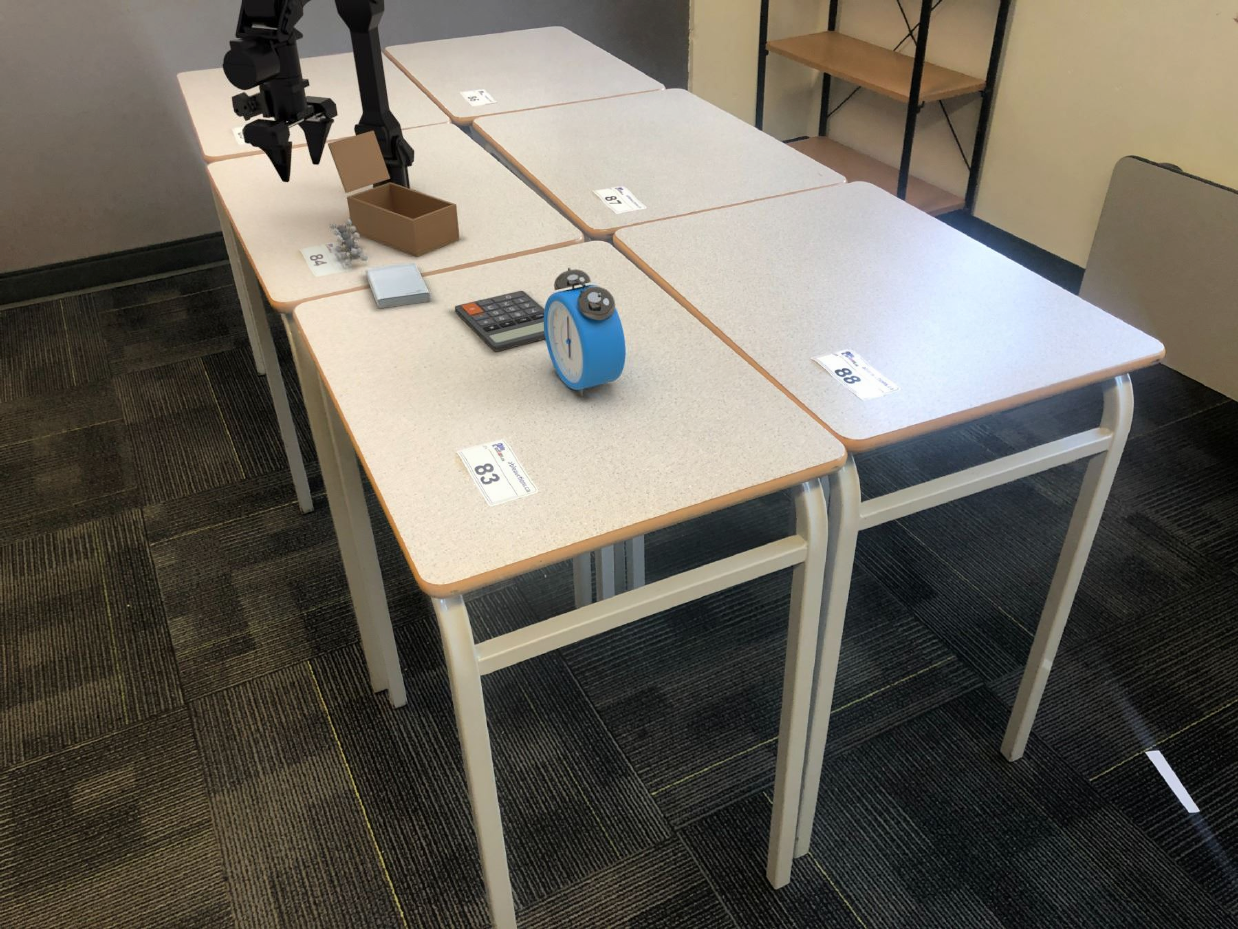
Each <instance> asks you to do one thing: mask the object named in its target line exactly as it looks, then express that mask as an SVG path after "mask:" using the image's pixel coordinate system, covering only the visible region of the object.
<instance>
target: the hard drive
mask: <svg viewBox="0 0 1238 929" xmlns="http://www.w3.org/2000/svg"><path fill="white" fill-rule="evenodd" d="M365 275H366V278H367V282H368V284H369V286H370V289H371V291H372V292H371V293H372V295H373V297H374V299H375V303H376V305H377V307H378V308H380V309H385V308H391V307H399V306H406V305H414V304H420V303H421V304H422V303H427V302H430V301H431V299H432V298H431V293H430V291H429V289H428V287H427V285H426V283H425V280H424V278H423V276H422V274H421V272H420V270H419V268H418V266H417V264H416V262H404V263H396V264H389V265H381V266H375V267H369V268H366V269H365Z"/></svg>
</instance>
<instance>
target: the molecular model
mask: <svg viewBox="0 0 1238 929" xmlns="http://www.w3.org/2000/svg"><path fill="white" fill-rule="evenodd" d="M351 225H352V221H351V220H350V219H347V220H346V221H345V225H344V224H343V225H342V224H341V225H338V226H337V225H336V224H335V222H330V223H329V228H330V229H332V231H333V235H334V236H337V237H336V242H337V243H339V244H337V245H335V250H336V251H337V252H340V251H341V252H340V254H339V256H340V258H341V259H345V260H344V265H345V266H348V267H349V266H350V265H351V264H352V262H351V261H352V260H358V259H359V258H360V259H361V261H362V262H366V261H368V256H367V255H366V254H363V253H364V251H363V249H362V248H360V247H359V242H357V241H355V240H357V239H360V237H361V235H360V234H359V233H357V232H356V233H354V232H355V231H356V228H355V227H354V226H351ZM347 227H349V231H348V229H347ZM333 229H334V230H333ZM351 233H353V238H352V235H351ZM342 246H344V249H345V251H342V249H343V247H342ZM347 253H348V255H349V259H346V258H347Z"/></svg>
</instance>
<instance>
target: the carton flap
mask: <svg viewBox="0 0 1238 929" xmlns="http://www.w3.org/2000/svg"><path fill="white" fill-rule="evenodd" d="M327 147H328V149H329V152H330V154H331V157H332V160H333V163H334V166H335V168H336V171H337V174H338V176H339V179H340V182H341V185H342V188H343V191H344V193H345V194H347V193H351V192H353V191H356V190H360V189H363V188H366V187H368V186H371V185H372V186H373V184H375V183H378V182H381V181H384V180H387V179H390V177H389V174H388V171H387V168H386V165H385V162H384V159H383V156H382V153H381V151H380V148H379V145H378V142H377V139H376V136H375V133H374V131H370V132H367V133H363V134H360V135H353V136H350V137H349V136H348V137H346V138H342V139H338V140H335V141H332V142H329V143H327Z"/></svg>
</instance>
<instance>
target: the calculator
mask: <svg viewBox="0 0 1238 929" xmlns="http://www.w3.org/2000/svg"><path fill="white" fill-rule="evenodd" d="M544 309H545V307H543V306H542V305H540V304H539V302H537V301H536V300H535V299H534V298H532V297H531V296H530V295H529V294H528V293H527V292H525V291H524V290H518V291H513V292H508V293H505V294H501V295H496V296H492V297H488V298H483V299H478V300H475V301H469V302H467V303H462V304H458V305H455V306H454V312H455V313H456V314H457V315H458V316H459V317H460V318H461V319H462V320H463V321H464V322H465V323H466V324H467V325H468V326H469V327H470V328H471V329H472V330H473V331H474V332H475V333H476V334H477V335H478V336H479V337H480V338H481V339H482V340H483V342H485V343H486V345H488V347H489V348H491V349H492V350H493V351H494V352H500V351H502V350H506V349H511V348H514V347H518V346H523V345H526V344H530V343H534V342H537V341H542V340H546V339H545V333H544Z"/></svg>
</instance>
